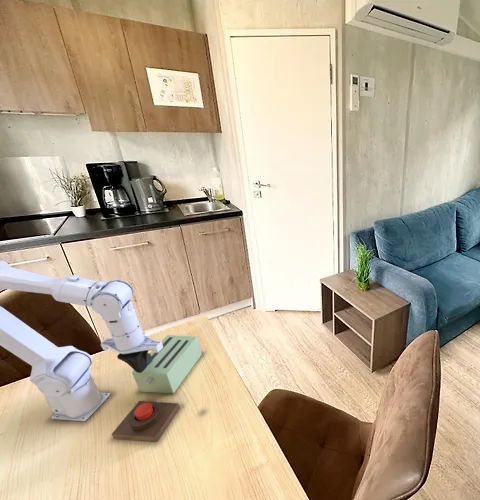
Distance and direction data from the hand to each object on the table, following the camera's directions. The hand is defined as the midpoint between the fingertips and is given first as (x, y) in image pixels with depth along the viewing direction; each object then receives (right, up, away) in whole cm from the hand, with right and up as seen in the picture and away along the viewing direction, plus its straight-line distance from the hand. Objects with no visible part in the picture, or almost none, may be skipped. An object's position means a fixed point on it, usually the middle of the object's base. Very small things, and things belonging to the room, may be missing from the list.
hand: (141, 369), depth 75 cm
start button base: (+3, -12, -2) cm, 13 cm away
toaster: (+1, -6, +12) cm, 14 cm away
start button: (+3, -10, -4) cm, 11 cm away
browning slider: (-3, 0, +6) cm, 6 cm away
